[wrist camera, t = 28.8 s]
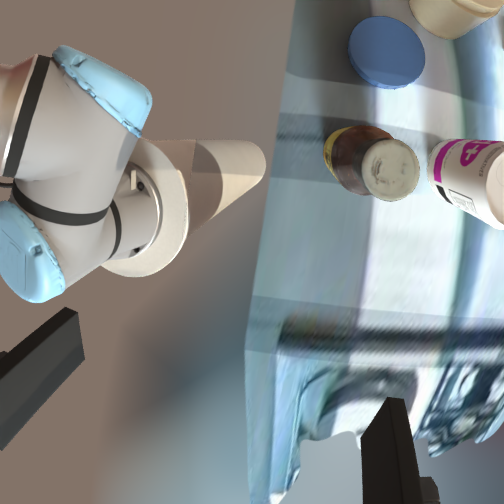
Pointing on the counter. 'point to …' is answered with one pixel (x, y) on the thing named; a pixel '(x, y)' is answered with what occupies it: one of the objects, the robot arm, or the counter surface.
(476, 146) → the supplement can
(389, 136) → the sauce bottle
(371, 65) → the lid
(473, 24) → the jar
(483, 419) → the counter surface
